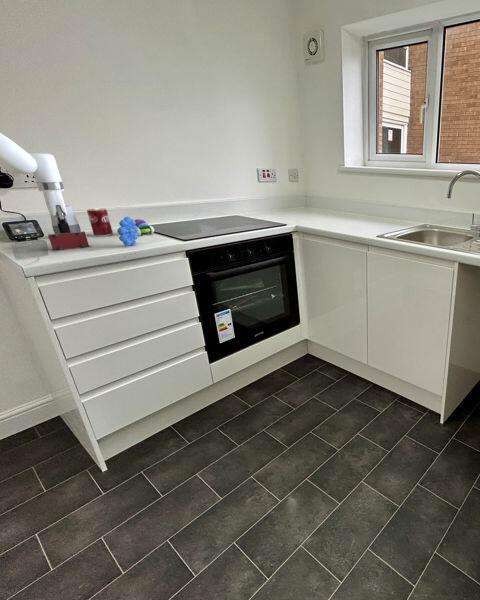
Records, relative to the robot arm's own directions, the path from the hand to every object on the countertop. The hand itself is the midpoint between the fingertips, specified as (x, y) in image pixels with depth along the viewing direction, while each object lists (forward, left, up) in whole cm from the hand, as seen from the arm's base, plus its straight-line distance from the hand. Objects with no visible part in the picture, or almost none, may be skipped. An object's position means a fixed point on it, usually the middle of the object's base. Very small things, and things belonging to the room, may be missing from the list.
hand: (65, 232), depth 145 cm
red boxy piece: (0, -7, -5) cm, 8 cm away
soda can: (+14, +17, -5) cm, 22 cm away
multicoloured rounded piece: (+28, +9, -5) cm, 30 cm away
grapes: (+18, -15, -5) cm, 24 cm away
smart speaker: (+2, +21, -5) cm, 21 cm away
